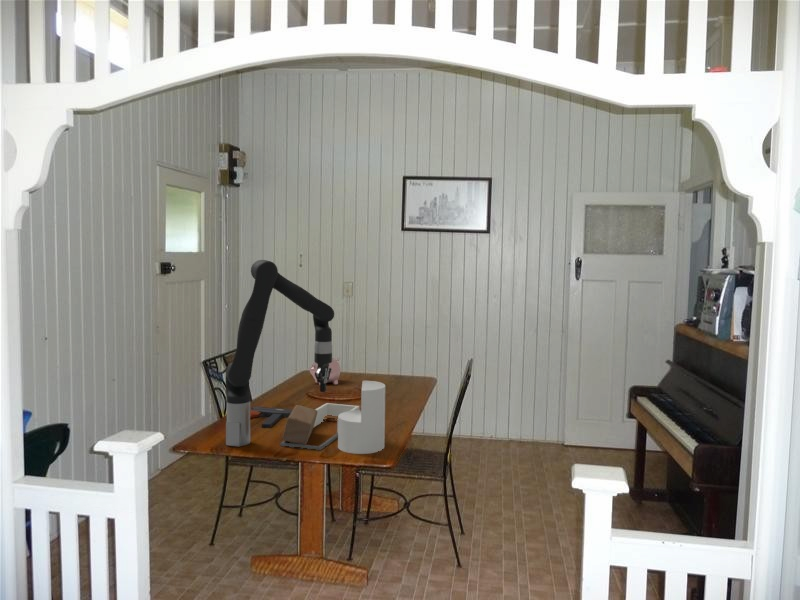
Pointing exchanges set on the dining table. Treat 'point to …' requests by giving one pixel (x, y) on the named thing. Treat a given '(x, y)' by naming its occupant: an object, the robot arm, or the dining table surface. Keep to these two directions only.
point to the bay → (285, 443)
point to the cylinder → (364, 422)
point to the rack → (332, 411)
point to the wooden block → (299, 425)
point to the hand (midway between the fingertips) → (323, 391)
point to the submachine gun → (269, 414)
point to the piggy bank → (333, 375)
